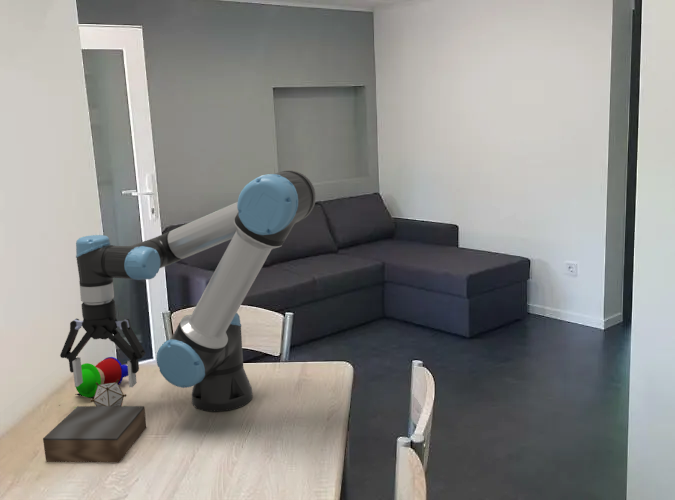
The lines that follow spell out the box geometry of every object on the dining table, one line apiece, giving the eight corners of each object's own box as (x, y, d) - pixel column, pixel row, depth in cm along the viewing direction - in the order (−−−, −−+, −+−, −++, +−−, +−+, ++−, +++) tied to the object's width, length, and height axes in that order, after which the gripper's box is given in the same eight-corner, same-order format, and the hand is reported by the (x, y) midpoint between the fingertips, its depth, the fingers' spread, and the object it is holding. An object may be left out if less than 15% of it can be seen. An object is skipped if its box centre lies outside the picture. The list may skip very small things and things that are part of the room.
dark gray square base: (146, 427, 157) (144, 406, 156) (119, 462, 141) (116, 438, 140) (80, 427, 158) (77, 406, 157) (46, 462, 143) (42, 438, 142)
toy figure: (108, 389, 188) (66, 400, 174) (106, 354, 188) (64, 363, 174) (134, 390, 184) (93, 402, 170) (132, 355, 184) (91, 364, 170)
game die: (115, 429, 165) (112, 409, 158) (84, 416, 166) (80, 395, 159) (135, 400, 171) (133, 379, 164) (105, 387, 172) (102, 366, 165)
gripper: (154, 296, 163) (160, 379, 167) (55, 296, 165) (63, 378, 169) (143, 305, 156) (150, 391, 160) (39, 304, 158) (48, 390, 162)
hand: (105, 384), depth 165 cm, fingers open, 13 cm apart
